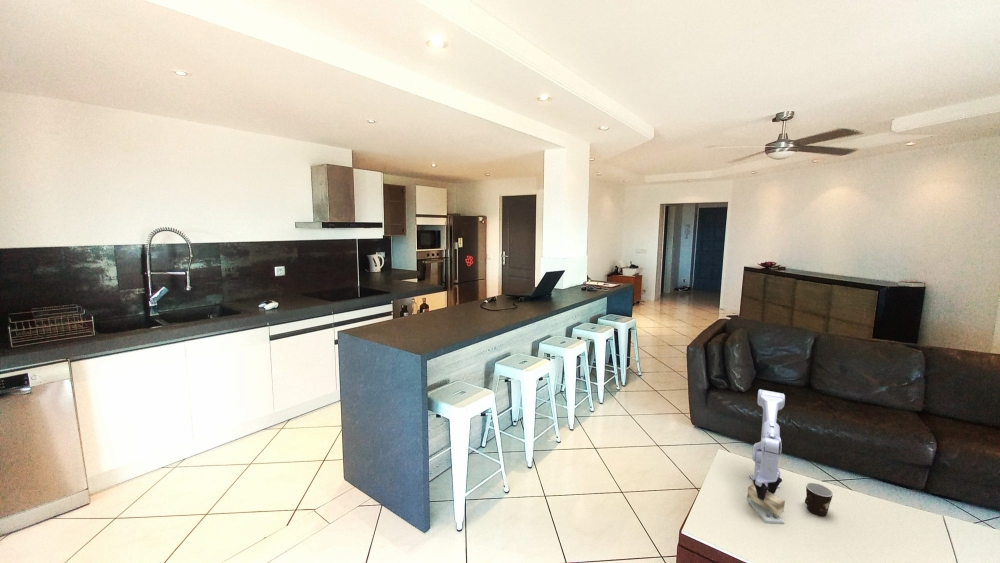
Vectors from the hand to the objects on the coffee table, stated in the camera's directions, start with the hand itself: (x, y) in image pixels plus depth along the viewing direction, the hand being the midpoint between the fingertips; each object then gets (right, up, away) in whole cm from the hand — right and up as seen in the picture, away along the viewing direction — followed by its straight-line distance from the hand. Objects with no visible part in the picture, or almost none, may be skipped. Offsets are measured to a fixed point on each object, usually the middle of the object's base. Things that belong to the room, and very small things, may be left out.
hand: (766, 495), depth 162 cm
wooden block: (0, -4, +1) cm, 4 cm away
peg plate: (0, -7, +1) cm, 7 cm away
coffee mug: (+20, -7, +1) cm, 21 cm away
